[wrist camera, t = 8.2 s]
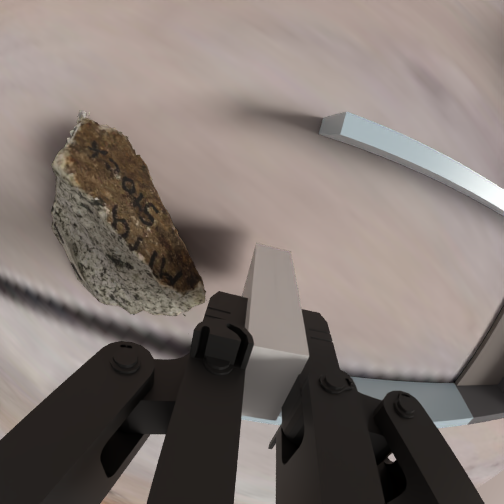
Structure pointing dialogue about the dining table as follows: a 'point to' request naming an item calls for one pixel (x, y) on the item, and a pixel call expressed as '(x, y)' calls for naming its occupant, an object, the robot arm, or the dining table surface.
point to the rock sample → (119, 226)
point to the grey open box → (485, 377)
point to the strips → (449, 173)
